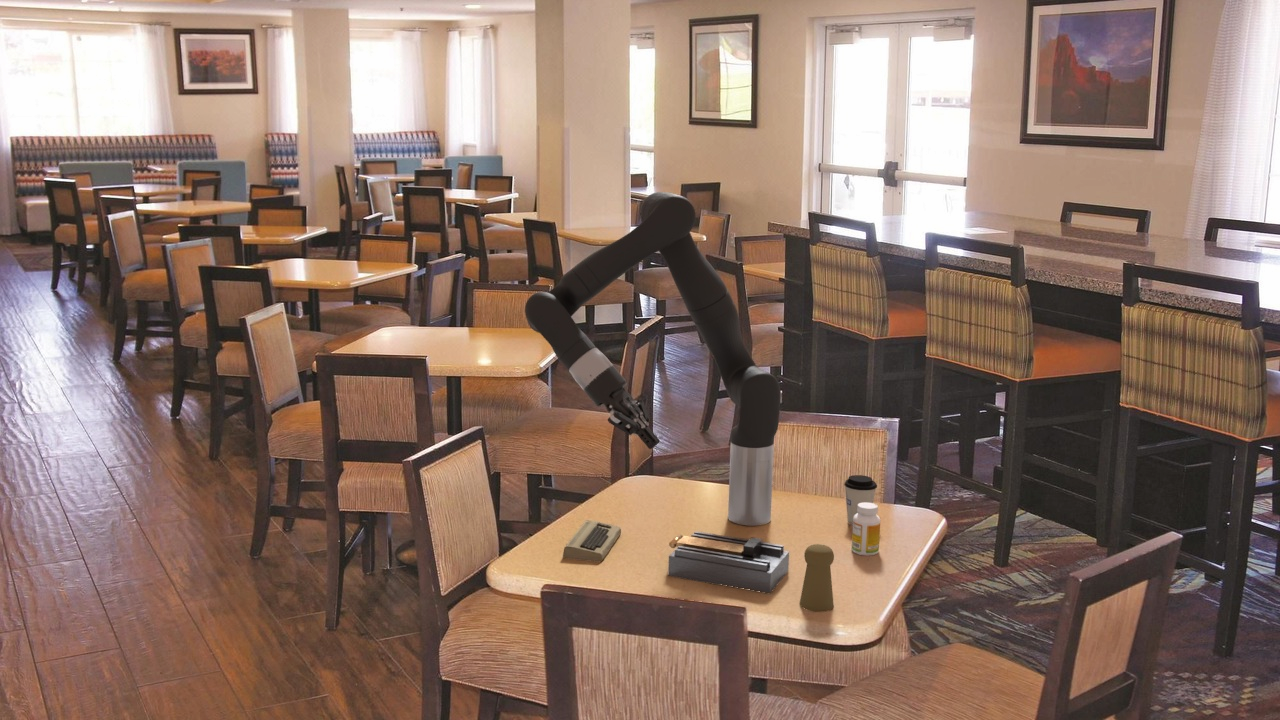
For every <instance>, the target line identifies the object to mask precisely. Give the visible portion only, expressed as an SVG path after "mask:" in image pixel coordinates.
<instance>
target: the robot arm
mask: <svg viewBox="0 0 1280 720" xmlns="http://www.w3.org/2000/svg"><path fill="white" fill-rule="evenodd" d="M639 214H640V220H641V223H639V225H638V226H636V227H635V228H633V229H632V230H631V231H629V232H628V233H627V234H625V235H624V236H622V237H620V238H619V239H617V240H615V241H613V242H611V243H609V244H608V245H606V246H605V245H604V246H603V247H601V248H600V249H598V250H596V251H594V252H593V253H591V254H590V255H588V256H587V257H585V258H584V259H582V260H580V262H579V263H577V264H576V265H575V266H573V267H572V268H571V269H570V270H568V271H567V272H565V274H564V275H563V276H562V277H561V278H560V280H559V283H557V284H556V285H555V286H554V287H553V288H552V289H551V290H549V291H548V292H546V291H537V292H535V293H532V295H531V296H530V297H529V298H527V301H526V303H525V306H524V313H525V318H526V321H527V323H528V326H529V328H531V329H532V330H533V331H534V332H536V333H538V334H540V335H541V336H542V337H543V339H544V340H546V341H547V343H548V345H550V347H551V348H552V350H553V352H554V354H555V356H556V357H557V358H558V359H559V361H560V362H561V363H562V364H563V366H564V367H565V368H566V369H567V371H568V372H569V374H571V376H572V378H573V379H574V381H575V382H576V383H577V384H578V385H579V387H580V388H581V389H582V390H583V392H584V393H585V394H586V395H587V397H588V398H589V399H590V400H591V401H592V402H593V404H594V405H595V406H596V407H598V408H601V407H603V406H604V407H605V408H606V411H607V413H609V415H610V416H609V417H608V418H607V422H608V423H609V424H611V425H612V426H614V427H616V428H617V429H619V430H620V431H623V432H624V433H625V434H627V435H628V436H632V435H635V436H638V437H639V439H640V440H641V441H642V442H643V443H644V445H645V446H646V447H647V448H648V449H649V450H652V449H654V448H655V447H656V446H658V444H660V442H661V441H660V439H659V437H658V436H657V435H656V434H655V433H654V432H653V431H652V429H651V428H650V427H649V426H650V424H649V423H650V421H651V418H650V416H649V412H648V410H647V407H646V404H645V401H644V400H643V399H642V398H640V397H639V398H638V399H634V397H633V396H632V395H631V394H630V393H629V392H628V391H627V390H626V389H625V387H626V386H627V385H628V382H627V380H626V379H625V378H624V376H623V375H622V374H621V372H619V370H618V369H617V368H616V367H615V366H614V364H613V363H612V362H611V361H610V359H608V357H607V356H606V355H605V354H604V353H603V352H602V351H601V350H599V348H598V347H597V346H595V344H594V343H593V342H592V341H591V339H589V337H588V336H587V334H586V333H584V332H583V331H582V330H581V328H579V326H578V325H577V323H576V322H575V319H573V317H572V316H573V315H574V314H575V313H576V312H577V311H578V310H579V309H580V308H581V307H582V306H583V305H584V304H586V303H588V302H589V301H591V300H592V299H593V298H595V297H596V296H597V295H598V294H600V292H602V291H603V290H605V289H606V288H607V287H608V286H610V285H611V284H612V283H613V282H615V281H616V280H617V279H619V278H620V277H621V276H622V275H624V274H626V273H627V272H628V271H630V270H631V269H633V268H634V267H635V266H637V265H638V264H640V263H641V262H643V261H644V260H647V259H648V258H649V257H651V256H652V255H654V254H656V253H657V252H659V254H660V255H661V257H662V259H663V260H664V261H665V264H666V265H667V267H668V270H669V272H670V275H671V277H672V279H673V281H674V283H675V285H676V288H677V290H678V292H679V295H680V296H681V299H682V300H683V303H684V305H685V307H686V309H687V312H688V313H689V315H690V318H691V320H692V321H693V323H694V325H695V327H696V329H697V330H698V333H699V334H700V337H701V338H702V340H703V342H704V343H705V345H706V347H707V349H708V350H709V352H710V354H711V355H712V357H713V360H714V361H715V364H716V366H717V368H718V372H719V375H720V377H721V380H722V383H723V385H724V388H725V391H726V393H727V395H728V397H729V400H730V401H731V402H733V404H735V405H736V406H738V408H739V415H738V423H737V425H735V426H733V428H731V430H730V453H729V482H728V507H727V508H728V509H727V510H728V511H727V512H728V513H727V519H728V520H729V521H730V522H732V523H734V524H737V525H740V526H753V527H755V526H763V525H766V524H768V523H770V522H771V520H772V519H771V518H772V500H773V499H772V497H773V474H774V448H775V445H774V444H775V436H776V434H777V432H778V429H779V422H780V411H781V397H782V394H781V386H780V383H779V380H778V379H777V377H775V376H774V375H773V374H771V373H770V372H768V371H765V370H764V369H761V368H760V367H759V366H758V365H757V364H756V362H755V360H754V359H753V358H752V356H751V354H750V353H749V351H748V349H747V347H746V346H745V343H744V341H743V338H742V333H741V324H740V318H739V317H740V316H739V313H738V309H737V307H736V303H735V302H734V300H733V298H732V296H731V295H732V294H731V293H730V292H729V289H728V287H727V286H726V283H725V282H724V281H723V279H722V277H721V275H719V273H718V272H717V271H716V269H715V268H714V267H713V266H712V264H711V263H710V262H709V261H708V260H707V258H706V257H705V256H704V254H703V253H702V252H701V250H700V249H699V248H698V246H697V244H696V242H695V241H694V238H693V236H692V233H691V231H692V230H693V227H694V226H695V223H696V218H697V217H696V215H697V214H696V209H695V207H694V205H693V204H692V202H691V201H690V200H689V199H688V198H687V197H685V196H682V195H679V194H676V193H671V192H666V191H658V192H654V193H651V194H650V195H648V196H647V197H646V198H645V199H644V200H643V202H642V205H641V207H640V213H639Z"/></svg>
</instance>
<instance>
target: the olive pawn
mask: <svg viewBox="0 0 1280 720" xmlns="http://www.w3.org/2000/svg"><path fill="white" fill-rule="evenodd" d="M803 553H804V555H803V557H804V560H805V563H806V567H805V568H806V569H805V573H804V577H803V583H802V584H803V585H802V589H801V594H800V598H799V599H800V600H799V606H800V607H801V608H802V609H804V608H805V609H804V610H806V609H807V611H810V612H815V613H816V612H819V613H820V612H828V611H830V610H833V609H834V594H833V593H834V592H833V583H832V571H831V566H832V564H833V563H834V560H835V553H834V551H833V548H831V547H830V546H829V545H825V544H819V543H815V544H811V545H809V546H807V547H806V549H805V550H804V552H803Z"/></svg>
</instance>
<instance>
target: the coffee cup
mask: <svg viewBox="0 0 1280 720" xmlns="http://www.w3.org/2000/svg"><path fill="white" fill-rule="evenodd" d="M843 485H844V488H845V489H844V491H845V501H846V502H845V503H846V518H847V524H848V523H849V526H852V525H853V517H854V515H855V514H857V513H858V512H857V506H858V504H859V503H863V502H868V503H874V499H875V494H876V490H877V488H878V485H877V483H876V482H875V481H874V480H873V478H872V477H870V476H867V475H862V474H858V475H850V476H848V478H847V479H846V480H845V482H844V484H843Z"/></svg>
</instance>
